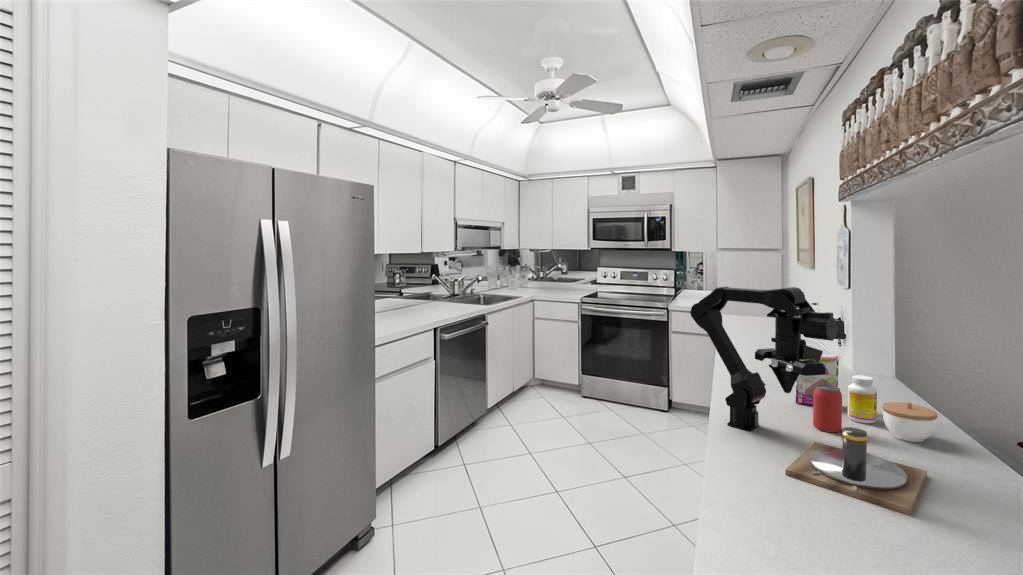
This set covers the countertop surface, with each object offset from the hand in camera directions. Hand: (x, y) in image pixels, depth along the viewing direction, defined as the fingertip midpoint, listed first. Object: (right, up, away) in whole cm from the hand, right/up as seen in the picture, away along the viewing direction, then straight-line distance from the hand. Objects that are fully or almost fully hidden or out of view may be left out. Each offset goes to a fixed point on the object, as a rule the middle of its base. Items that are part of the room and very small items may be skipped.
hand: (787, 392), depth 114 cm
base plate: (+4, -14, -18) cm, 23 cm away
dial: (+4, -13, -18) cm, 22 cm away
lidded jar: (+32, -12, 0) cm, 35 cm away
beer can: (+16, -12, +7) cm, 21 cm away
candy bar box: (+26, -10, +26) cm, 38 cm away
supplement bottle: (+30, -11, +12) cm, 34 cm away
